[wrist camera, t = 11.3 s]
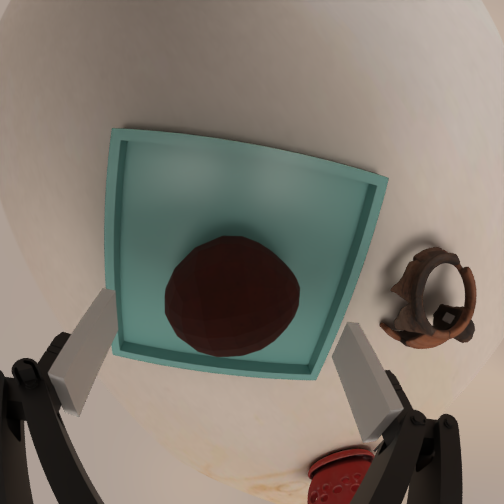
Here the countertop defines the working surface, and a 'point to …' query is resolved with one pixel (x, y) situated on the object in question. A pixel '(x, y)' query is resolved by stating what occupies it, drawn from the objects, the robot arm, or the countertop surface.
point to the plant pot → (338, 476)
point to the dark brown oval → (231, 297)
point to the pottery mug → (446, 317)
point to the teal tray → (232, 224)
